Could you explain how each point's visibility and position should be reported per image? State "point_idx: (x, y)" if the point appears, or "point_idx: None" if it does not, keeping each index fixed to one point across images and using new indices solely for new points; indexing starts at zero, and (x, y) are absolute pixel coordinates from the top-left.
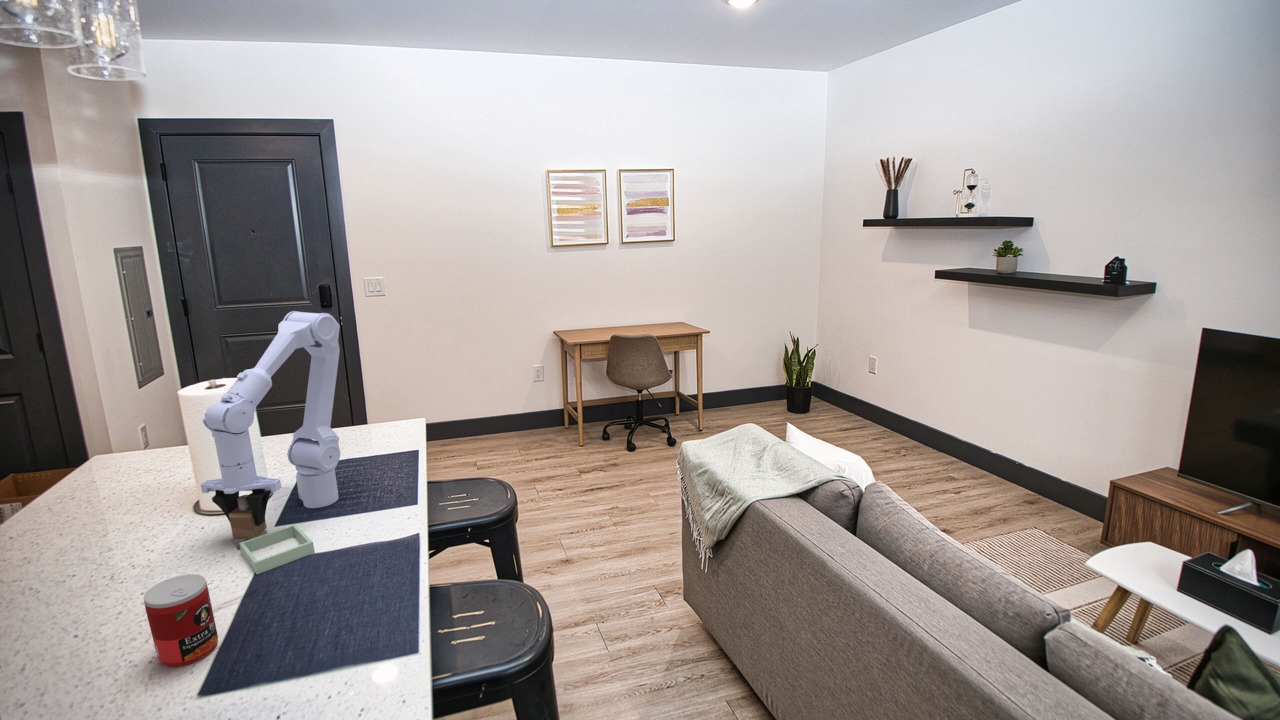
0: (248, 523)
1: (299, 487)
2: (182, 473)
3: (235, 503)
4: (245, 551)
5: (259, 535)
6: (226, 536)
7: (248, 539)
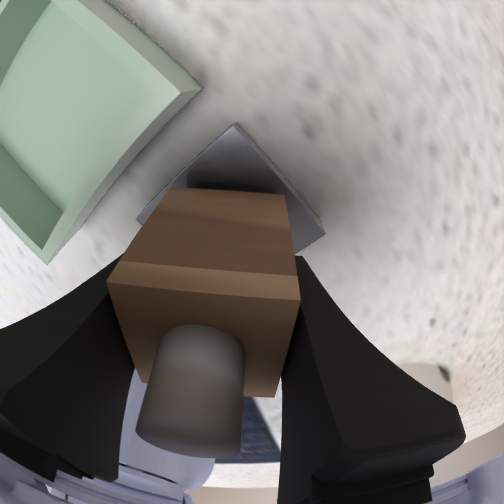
0: (159, 233)
1: None
2: None
3: (288, 399)
4: (99, 17)
5: None
6: (359, 276)
7: None
